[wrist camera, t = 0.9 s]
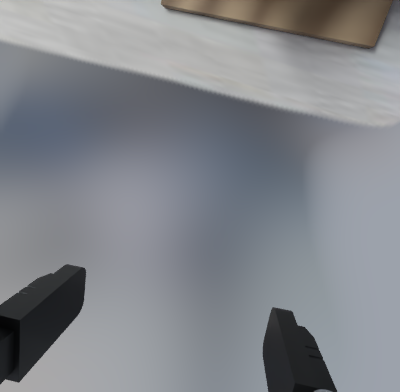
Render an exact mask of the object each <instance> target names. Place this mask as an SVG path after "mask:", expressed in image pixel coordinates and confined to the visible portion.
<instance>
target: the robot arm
mask: <svg viewBox="0 0 400 392" xmlns="http://www.w3.org/2000/svg"><path fill="white" fill-rule="evenodd" d="M85 278H86V270H85V268H83V267H78V266H73V265H68V264H67V265H65V266H63V267H62V268H61V269H59V270H58V271H57V272H55V273H54V274H51V273H50V274H48V275H45V276H43V277H40V278H38V279H36V280H35V281H33V282H32V283H30V284H29V285H28V286H27V287H25V288H23V289H22V290H21V291H19V293H16V294H15V295H14V296H12V297H11V298H9V299H8V300H7V301H5V302H4V303H2V304H1V305H0V384H1V383H2V382H3V381H4V380H5V379H7V380H11V381H15V382H20V381H21V380H22V378H23V377H24V376H25V375H26V374H27V373H28V372H29V371H30V369H31V368H32V367H33V366H34V364H36V363H37V361H38V360H39V359H40V358H41V357H42V356H43V354H44V353H45V352H46V351H47V350H48V349H49V348H50V346H51V345H52V344H53V343H54V342H55V341H56V340H57V339H58V337H59V336H60V335H61V334H62V333H63V332H64V330H65V329H66V328H67V327H68V326H69V325H70V324H71V323H72V321H73V320H74V319H75V318H76V317H77V316H78V314H79V313H80V310H81V309H82V306H83V302H84V292H85ZM263 360H264V366H265V373H266V379H267V386H268V392H337V390H336V388H335V385H334V383H333V381H332V378H331V376H330V374H329V371H328V369H327V367H326V364H325V362H324V361H323V357H322V355H321V353H320V351H319V348H318V346H317V343H316V341H315V339H314V337H313V336H312V335H311V334H310V333H309V331H308V330H307V329H306V328H305V327H302V326H298V325H297V323H296V320H295V317H294V315H293V312H292V311H289V310H284V309H279V308H274V307H273V308H272V310H271V313H270V317H269V321H268V325H267V330H266V333H265V337H264V343H263Z"/></svg>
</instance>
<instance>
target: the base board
mask: <svg viewBox="0 0 400 392" xmlns="http://www.w3.org/2000/svg"><path fill="white" fill-rule="evenodd" d="M392 1H393V0H162V1H161V5H163V6H164V7H165V8H169V9H174V10H179V11H184V12H189V13H194V14H199V15H204V16H209V17H214V18H219V19H224V20H229V21H234V22H239V23H244V24H249V25H254V26H259V27H264V28H269V29H274V30H279V31H284V32H289V33H294V34H299V35H304V36H309V37H314V38H319V39H324V40H329V41H333V42H338V43H343V44H348V45H353V46H358V47H363V48H368V49H370V48H372V47H374V45H375V43H376V41H377V38H378V36H379V33H380V31H381V28H382V26H383V23H384V21H385V19H386V16H387V14H388V11H389V9H390V6H391V4H392Z"/></svg>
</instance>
